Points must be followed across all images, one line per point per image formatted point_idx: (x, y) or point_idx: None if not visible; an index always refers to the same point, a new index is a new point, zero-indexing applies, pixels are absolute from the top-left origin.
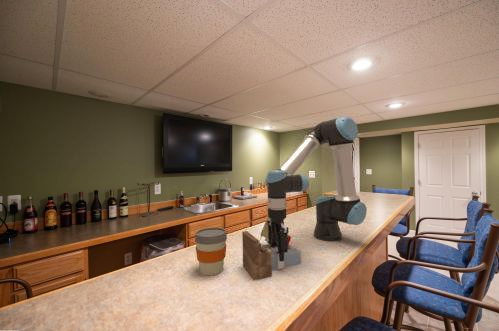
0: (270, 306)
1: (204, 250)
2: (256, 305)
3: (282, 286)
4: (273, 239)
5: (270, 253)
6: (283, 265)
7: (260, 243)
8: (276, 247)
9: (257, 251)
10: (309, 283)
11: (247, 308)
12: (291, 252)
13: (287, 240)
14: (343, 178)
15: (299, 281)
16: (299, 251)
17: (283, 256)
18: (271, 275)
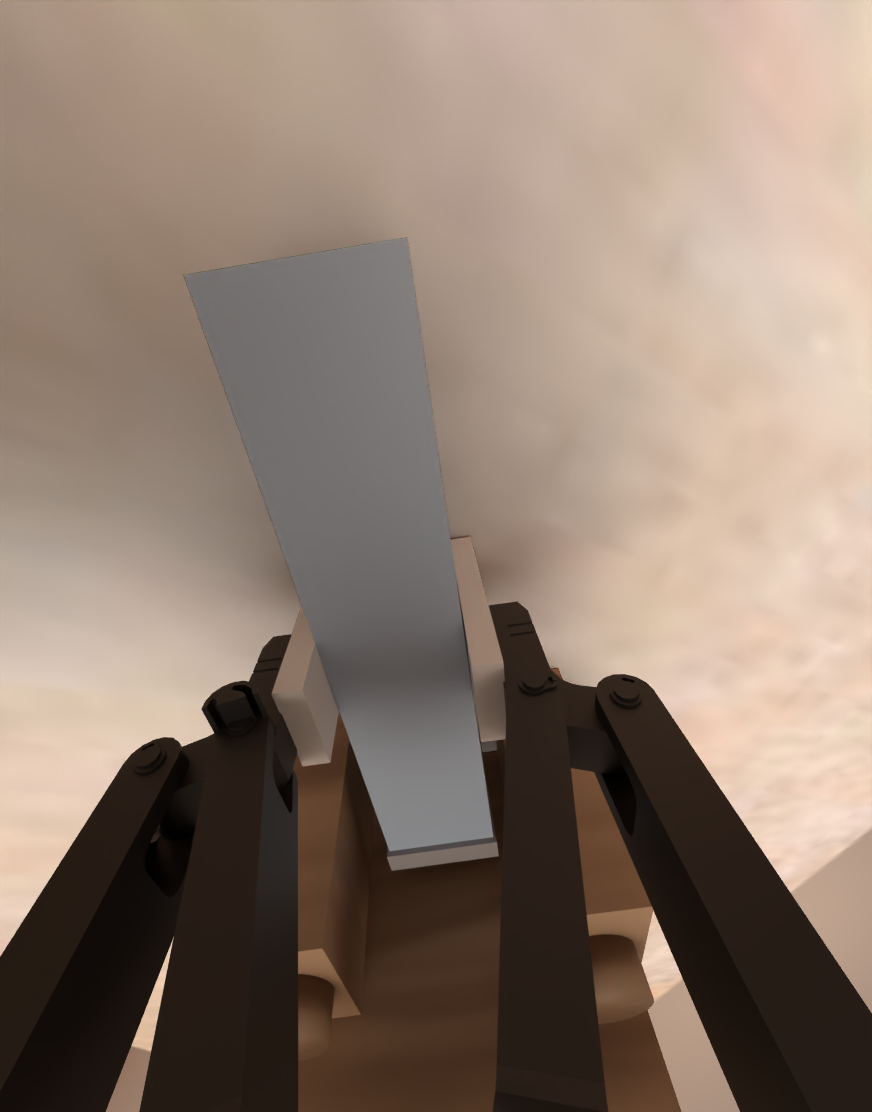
0: (840, 745)
1: None
2: (784, 791)
3: (726, 641)
4: (287, 904)
5: (644, 890)
6: (473, 557)
7: (312, 953)
8: (294, 705)
9: (651, 1031)
10: (843, 414)
11: (775, 820)
12: (399, 461)
13: (805, 920)
14: None
15: (753, 491)
16: (390, 264)
17: (539, 647)
18: (561, 676)
